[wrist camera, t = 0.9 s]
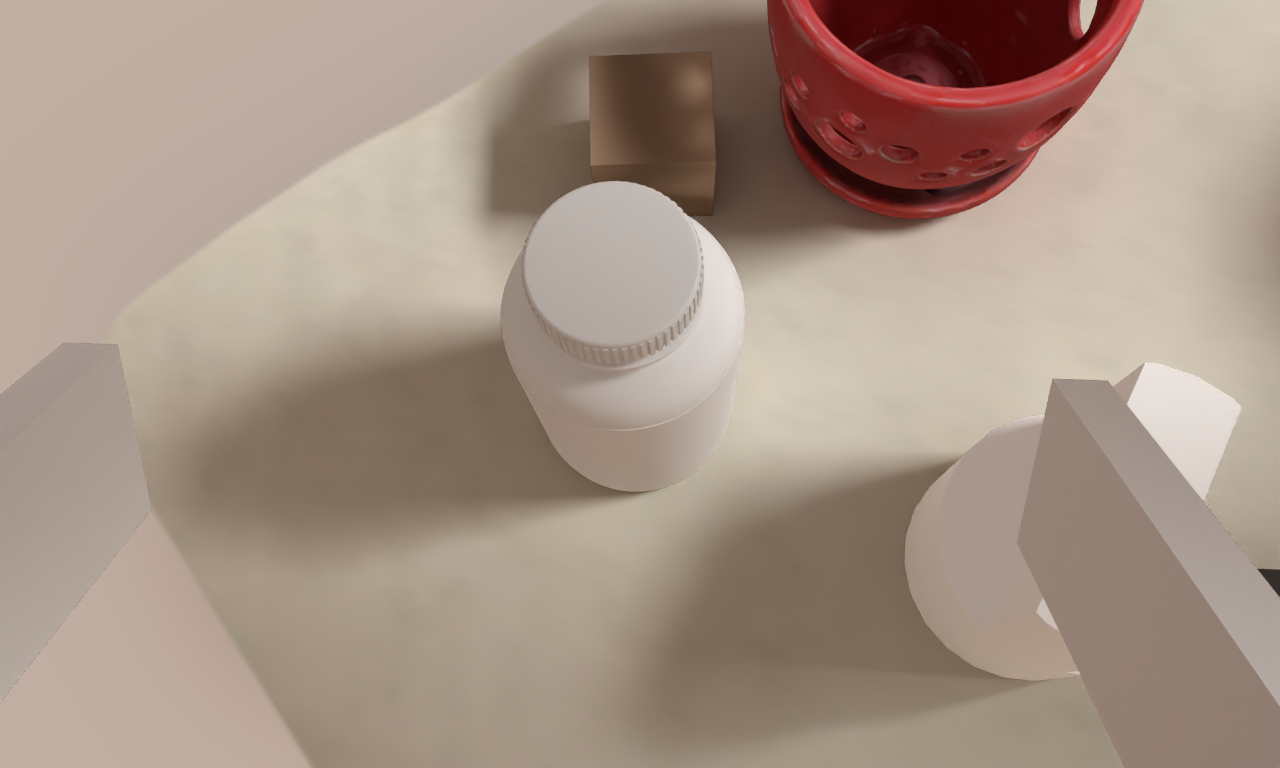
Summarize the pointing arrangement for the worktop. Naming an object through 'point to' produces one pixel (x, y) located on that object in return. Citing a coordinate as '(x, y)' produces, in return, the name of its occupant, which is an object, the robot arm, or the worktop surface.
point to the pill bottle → (625, 334)
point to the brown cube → (655, 125)
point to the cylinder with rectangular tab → (991, 517)
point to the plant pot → (934, 91)
